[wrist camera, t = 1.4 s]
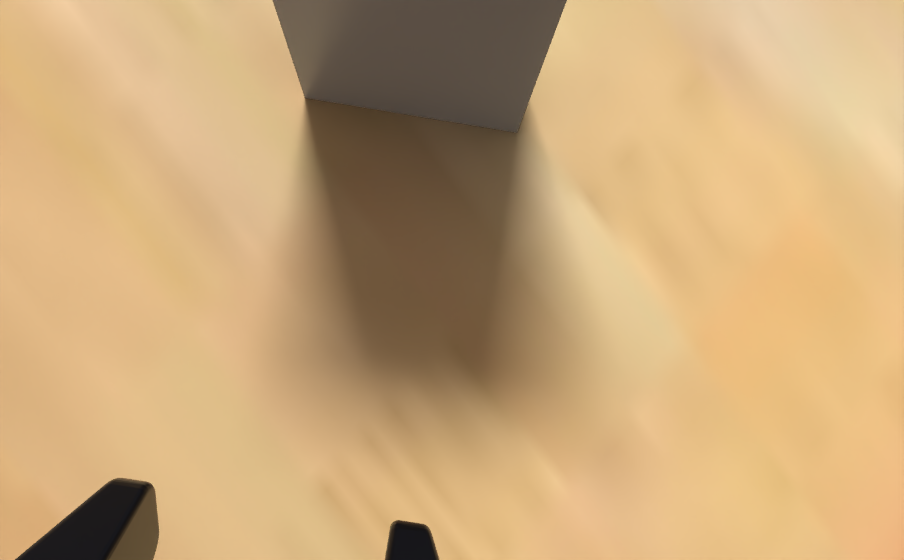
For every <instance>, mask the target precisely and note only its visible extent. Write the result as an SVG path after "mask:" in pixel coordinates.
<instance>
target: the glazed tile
mask: <svg viewBox="0 0 904 560" xmlns="http://www.w3.org/2000/svg"><path fill="white" fill-rule="evenodd" d="M566 1H567V0H273V3H274V6H275V9H276V12H277V15H278V18H279V21H280V24H281V27H282V30H283V33H284V36H285V39H286V42H287V45H288V48H289V51H290V54H291V57H292V60H293V63H294V66H295V69H296V72H297V75H298V78H299V81H300V84H301V87H302V90H303V93H304V96H305V98H308V99H314V100H320V101H326V102H332V103H338V104H344V105H351V106H357V107H363V108H369V109H375V110H381V111H387V112H393V113H399V114H405V115H412V116H418V117H424V118H430V119H436V120H442V121H448V122H454V123H460V124H466V125H473V126H479V127H485V128H491V129H497V130H503V131H509V132H515V133H517V132H518V129H519V126H520V124H521V121H522V118H523V116H524V113H525V110H526V108H527V105H528V102H529V100H530V97H531V94H532V92H533V89H534V86H535V84H536V81H537V78H538V76H539V73H540V70H541V68H542V65H543V62H544V60H545V57H546V54H547V52H548V49H549V46H550V44H551V41H552V38H553V36H554V33H555V30H556V28H557V25H558V22H559V20H560V17H561V14H562V12H563V9H564V6H565V4H566Z"/></svg>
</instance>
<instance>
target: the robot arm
mask: <svg viewBox="0 0 904 560" xmlns="http://www.w3.org/2000/svg"><path fill="white" fill-rule="evenodd" d="M158 538H159V525H158V515H157V505H156V495H155V489H154V487H153V485H152V484H151V483H149V482H145V481H139V480H132V479H126V478H116V479H113V480H111V481H109V482H108V483H107V484H105V485H104V486H103V487H102V488H101V489H99V490H98V491H97V492H96V493H95V494H93V495H92V496H91V497H90V498H89V499H87V500H86V501H85V502H84V503H83V504H81V505H80V506H79V507H78V508H77V509H75V510H74V511H73V512H72V513H71V514H69V515H68V516H67V517H66V518H65V519H63V520H62V521H61V522H60V523H59V524H57V525H56V526H55V527H54V528H53V529H51V530H50V531H49V532H48V533H47V534H45V535H44V536H43V537H42V538H41V539H39V540H38V541H37V542H36V543H35V544H33V545H32V546H31V547H30V548H29V549H27V550H26V551H25V552H24V553H23V554H21V555H20V556H19V557H18V558H17V559H15V560H153V558H154V555H155V552H156V548H157V544H158ZM385 560H439V557H438V554H437V550H436V547H435V543H434V540H433V537H432V534H431V531H430V529H429V528H428V527H427V526H426V525H424V524H420V523H413V522H407V521H400V520H397V521H394V522H393V523H392V524H391V526H390V532H389V538H388V544H387V550H386V556H385Z"/></svg>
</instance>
